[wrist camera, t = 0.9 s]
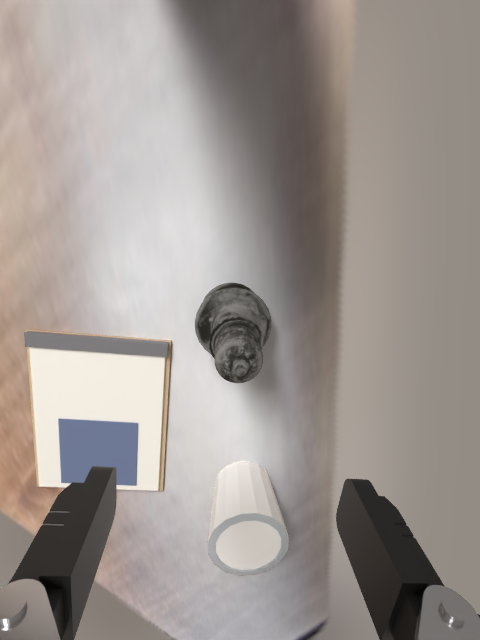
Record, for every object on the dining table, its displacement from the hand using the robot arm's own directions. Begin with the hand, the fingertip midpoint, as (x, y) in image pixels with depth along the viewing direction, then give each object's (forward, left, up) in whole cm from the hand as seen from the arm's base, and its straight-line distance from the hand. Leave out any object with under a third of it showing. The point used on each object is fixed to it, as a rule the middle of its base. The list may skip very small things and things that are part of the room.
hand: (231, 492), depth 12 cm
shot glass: (+17, +4, -19) cm, 25 cm away
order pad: (+10, -10, -19) cm, 23 cm away
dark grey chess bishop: (-1, +1, -19) cm, 19 cm away
